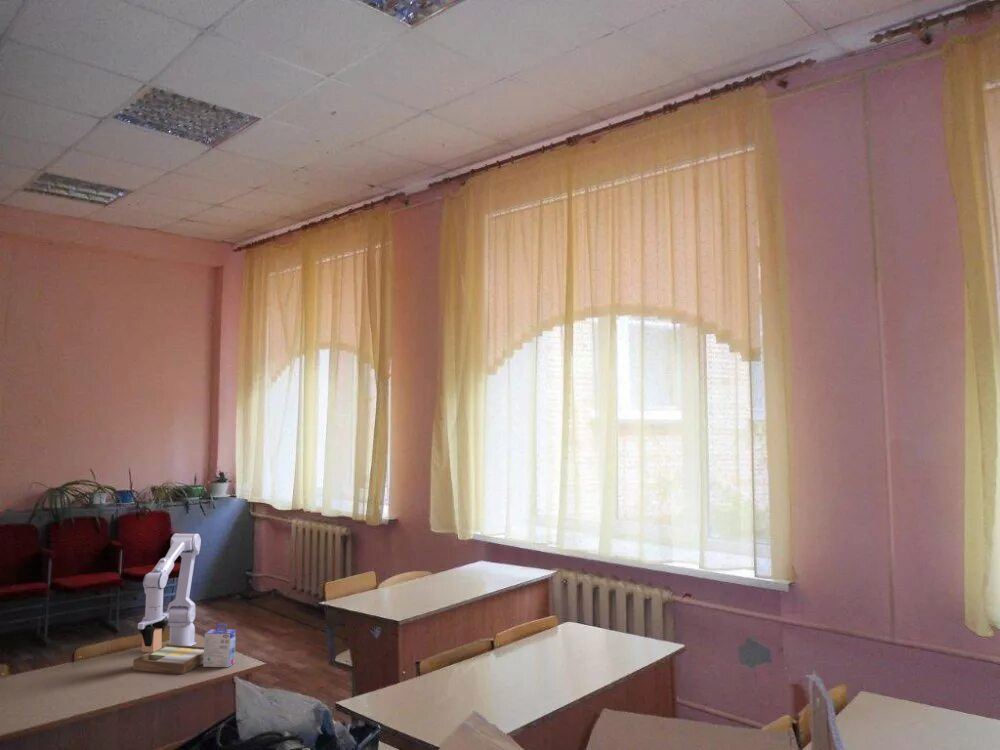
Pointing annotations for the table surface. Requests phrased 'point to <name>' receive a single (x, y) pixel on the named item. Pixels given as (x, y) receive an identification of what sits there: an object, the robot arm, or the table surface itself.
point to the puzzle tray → (168, 665)
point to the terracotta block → (154, 641)
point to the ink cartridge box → (219, 647)
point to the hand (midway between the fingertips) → (152, 643)
